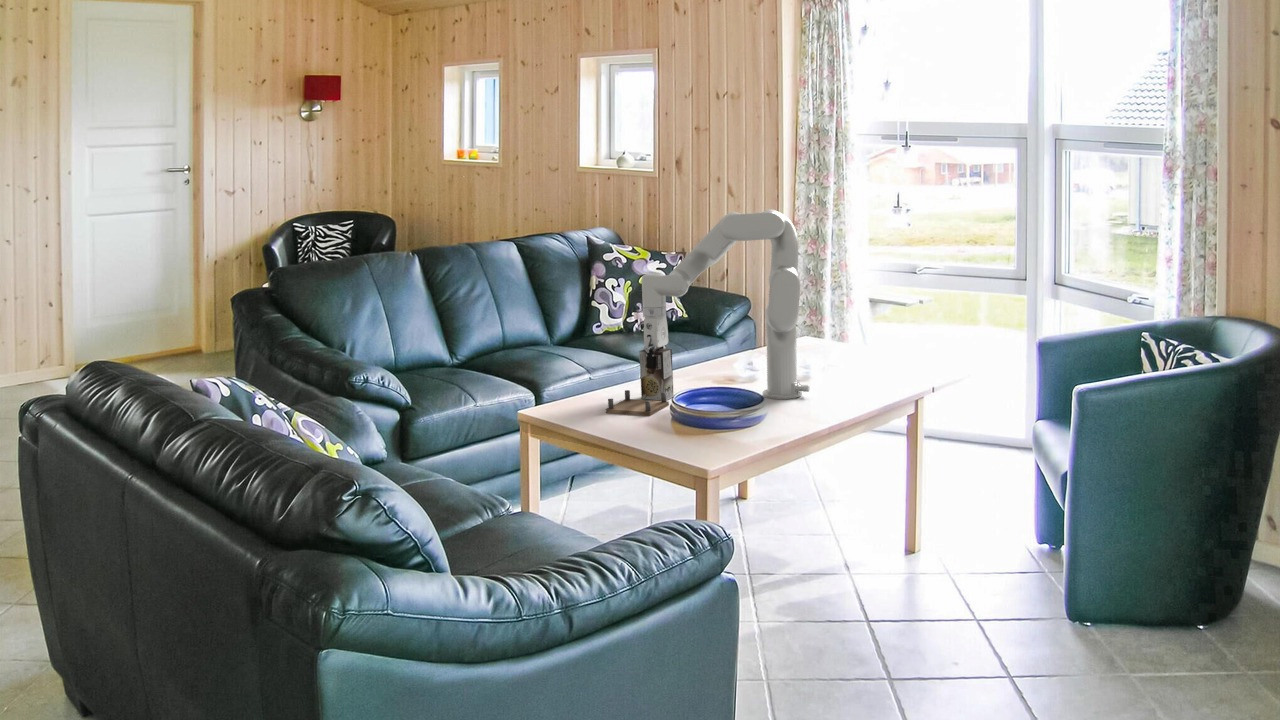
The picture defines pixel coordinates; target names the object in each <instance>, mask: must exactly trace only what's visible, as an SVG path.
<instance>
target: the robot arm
mask: <svg viewBox="0 0 1280 720" xmlns="http://www.w3.org/2000/svg"><path fill="white" fill-rule="evenodd" d="M798 237H799V236H798V234H797V231H796V228H795V226H794V224H793V222H792V221H791V220H790V219H789V218H788V217H787V216H785V214H783V213H782V212H779V210H778V211H777V210H775V209H766V210H763V211H762V212H755V213H754V212H753V213H740V212H737V211H731V212H728V213H726V214H725V215H724V216H723V217H722V218H721V219H720V220H719V221H718V222H717V223H716V224H715V225H714V226H713V228H711V229H710V231H708V232H707V234H706V235H705V236H703V238H702V239H700V241H699V242H698V243H696V245H695V246H694V247H693V249H692V250H691V251H690V252H689V253H688V254H687V255H686V256H685V257H684V258H683V259H682V260H681V261H680V263H678V264H677V265H676V267H674V268H673V270H672V271H671V272H669V274H662V273H659V272H658V273H657V272H652V273H651V272H650V273H645V274H643V275H642V277H641V292H642V293H641V295H642V317H643V318H644V321H643V348H644V349H645V352H646V357H647V368H648V369H656V368H657V363H656V356H655V353H656V348H664V349H666V346H667V345H668V344H669V329H668V328H669V327H668V321H667V297H674V298H680V297H683V296H684V295H686V294H687V293H688V290H689V288H690V286H691V285H692V284H693V283H694V282H695V281H696V280H697V278H698V277H699V276H700V275H701V274H702V273H704V272H705V271H706V270H707V269H708V268H711V266H714V265H716V263H718V262H719V261H720V260H721V259H722V258H723V257H724V255H725V254H726V253H727V252H729V251H730V249H731V248H733V246H734V245H735V244H736V243H737V242H746V241H747V242H748V241H749V242H750V241H764V240H770V243H771V253H770V254H771V259H770V271H769V277H768V285H769V291H768V292H769V293H768V305H766V306H767V307H766V310H765V327H766V329H765V330H766V331H765V332H766V376H767V378H766V382H767V383H766V384H767V389H764V390H763V391H762V396H763V397H764V398H767V399H771V400H772V399H773V400H788V399H789V400H791V399H796V398H800V397H801V396H802V395H803V394H802V393H804V392H805V393H808V392H809V393H810V390H811V389H810V385H808V384H801V383H800V380H797V379H798V373H797V372H798V370H797V369H798V368H797V364H798V363H797V324H798V320H799V310H800V299H801V298H800V296H801V279H800V275H799V272H798V270H799V268H798V267H799V238H798ZM644 349H643V350H644ZM651 349H653V352H652V350H651Z"/></svg>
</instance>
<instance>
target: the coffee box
mask: <svg viewBox="0 0 1280 720" xmlns="http://www.w3.org/2000/svg"><path fill="white" fill-rule="evenodd" d="M651 350H652V352H653V349H651ZM638 353H639V354H638V355H639V369H640V371H639V372H640V375H639V376H640V395H641V397H640V398H641V399H640V400H653V401H661V393H662V392H666V401H668V400H670V399H673V398H674V397H673V396H674V373H673V371H674V370H673V349H672V348H665V349H664V348H656V353H655V356H656V363H657V368H656V369H648V368H647V357H646V352H645V349H642V350H639V351H638ZM672 397H673V398H672Z"/></svg>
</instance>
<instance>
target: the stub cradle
mask: <svg viewBox="0 0 1280 720" xmlns="http://www.w3.org/2000/svg"><path fill="white" fill-rule="evenodd" d="M630 392H631V391H630V390H628V389H626V390H624V399H622V400H620V401H619V402H617V403H615V404H614V398H607V403H608V404H607V405H608V406H607V408H606V409H605V413H606V414H615V415H616V414H617V415H630V416H631V415H633V416H645V417H646V416H647V417H651V416H652V415H654V414H656V413H658V412H660V411H662V410H663V409H664V408H666V407H668V406H669V405H670V401H668V400H666V392H662V393H661V400H650V399H633V398H631V393H630Z"/></svg>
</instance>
